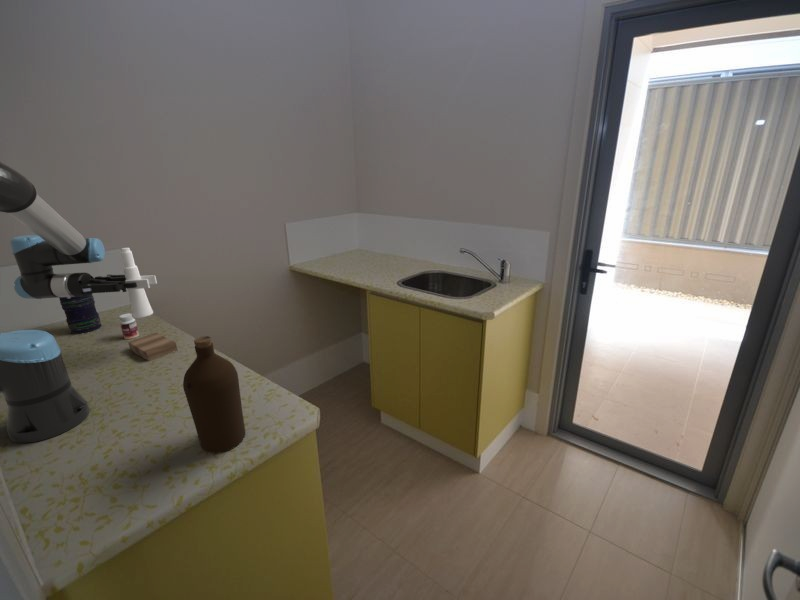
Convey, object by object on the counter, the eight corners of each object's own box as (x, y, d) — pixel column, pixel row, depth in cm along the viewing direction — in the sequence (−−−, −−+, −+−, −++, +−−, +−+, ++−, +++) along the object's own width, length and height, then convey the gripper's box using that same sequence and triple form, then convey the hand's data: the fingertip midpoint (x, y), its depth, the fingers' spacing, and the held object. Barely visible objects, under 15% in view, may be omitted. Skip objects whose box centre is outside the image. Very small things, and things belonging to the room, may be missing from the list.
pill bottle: (120, 338, 142) (114, 317, 139) (132, 333, 147) (126, 312, 144) (130, 340, 141) (124, 318, 138) (142, 334, 145) (136, 313, 142)
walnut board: (177, 350, 132) (175, 342, 131) (148, 361, 125) (146, 352, 124) (158, 340, 140) (156, 332, 139) (130, 350, 133) (128, 342, 132)
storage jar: (101, 321, 158) (90, 286, 153) (103, 329, 151) (92, 292, 146) (69, 328, 152) (57, 292, 147) (70, 336, 145) (57, 298, 140)
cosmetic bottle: (130, 314, 129) (112, 248, 121) (151, 309, 132) (135, 245, 125) (133, 319, 124) (114, 251, 117) (155, 314, 128) (138, 248, 121)
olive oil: (241, 453, 85) (220, 349, 76) (189, 457, 84) (163, 352, 75) (253, 422, 94) (236, 327, 86) (207, 426, 94) (186, 330, 85)
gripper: (95, 288, 133) (167, 284, 134) (58, 305, 117) (140, 301, 118) (89, 266, 130) (162, 263, 132) (50, 281, 114) (134, 277, 116)
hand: (151, 281), depth 125 cm, fingers closed on cosmetic bottle, 4 cm apart
